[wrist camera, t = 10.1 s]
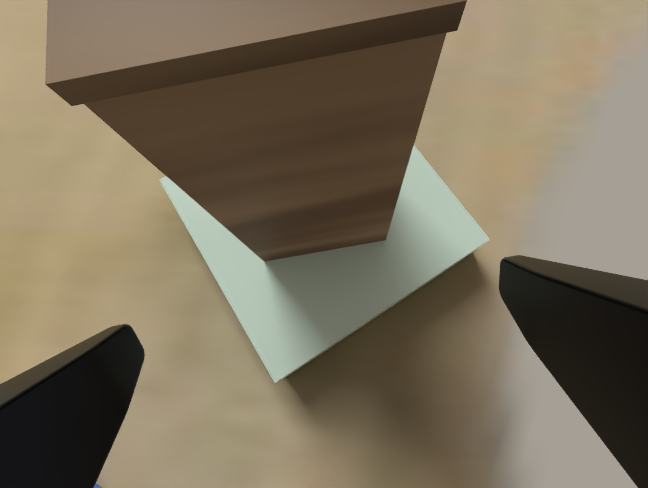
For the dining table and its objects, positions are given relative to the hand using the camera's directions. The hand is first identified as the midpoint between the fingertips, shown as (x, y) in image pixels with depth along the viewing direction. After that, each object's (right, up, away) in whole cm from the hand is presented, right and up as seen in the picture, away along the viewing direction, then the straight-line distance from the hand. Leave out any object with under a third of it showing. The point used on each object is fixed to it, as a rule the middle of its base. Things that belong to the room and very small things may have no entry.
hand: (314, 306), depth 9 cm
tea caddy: (0, +3, +8) cm, 9 cm away
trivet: (0, +3, +11) cm, 11 cm away
